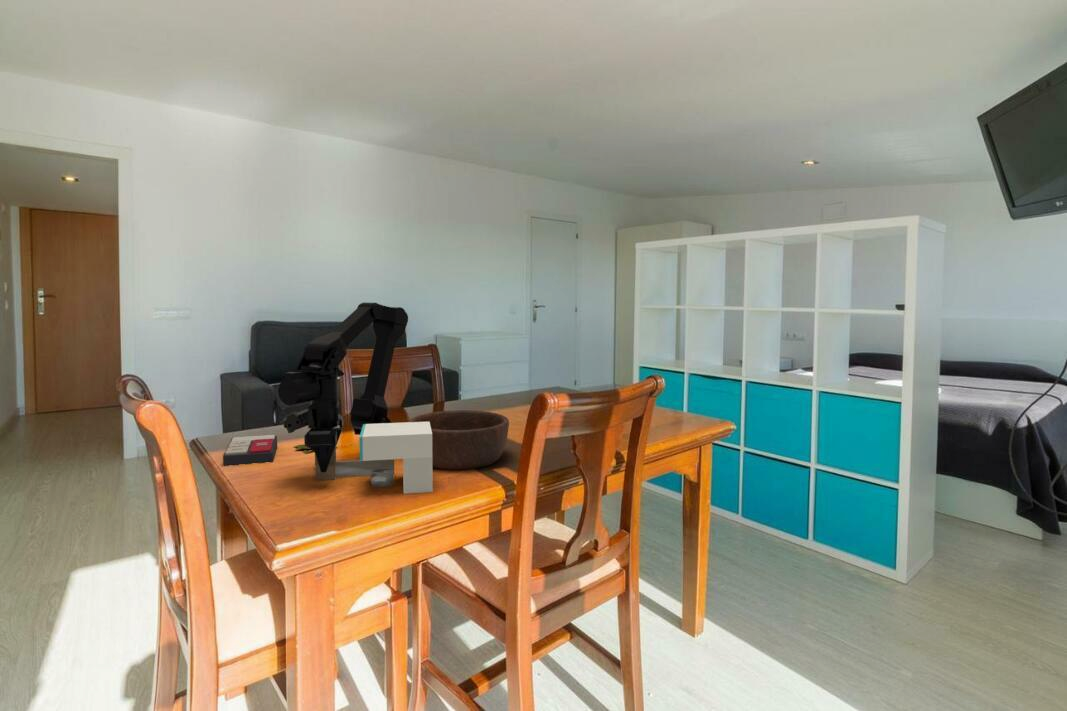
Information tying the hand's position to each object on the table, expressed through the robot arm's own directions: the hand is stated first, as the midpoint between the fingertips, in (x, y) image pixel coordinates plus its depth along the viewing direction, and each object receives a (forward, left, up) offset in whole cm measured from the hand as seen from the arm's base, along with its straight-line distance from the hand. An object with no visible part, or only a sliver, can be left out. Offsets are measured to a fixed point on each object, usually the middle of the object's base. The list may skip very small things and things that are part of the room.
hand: (326, 466), depth 131 cm
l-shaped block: (+9, +16, -3) cm, 18 cm away
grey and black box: (-22, -21, -3) cm, 30 cm away
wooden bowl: (-9, +31, -3) cm, 33 cm away
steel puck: (+7, +12, -3) cm, 15 cm away
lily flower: (-27, -6, -3) cm, 28 cm away
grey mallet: (0, +6, -3) cm, 7 cm away
